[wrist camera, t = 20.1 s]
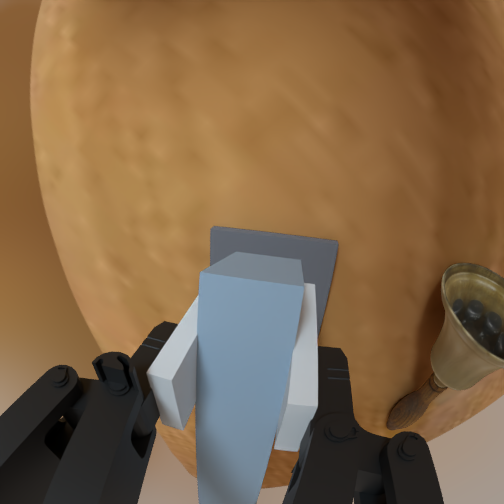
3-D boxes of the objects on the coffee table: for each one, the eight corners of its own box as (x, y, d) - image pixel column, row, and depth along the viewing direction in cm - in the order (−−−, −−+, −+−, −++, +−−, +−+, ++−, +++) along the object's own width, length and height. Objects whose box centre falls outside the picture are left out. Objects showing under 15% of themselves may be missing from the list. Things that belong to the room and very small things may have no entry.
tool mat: (213, 226, 16) (210, 229, 15) (337, 240, 15) (338, 244, 14) (216, 411, 23) (215, 416, 22) (290, 423, 22) (289, 428, 21)
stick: (236, 251, 13) (200, 272, 8) (300, 259, 12) (304, 286, 7) (217, 491, 16) (201, 535, 11) (253, 498, 15) (242, 543, 10)
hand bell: (546, 384, 5) (405, 475, 14) (532, 293, 10) (433, 407, 20) (433, 324, 9) (332, 440, 18) (447, 245, 15) (371, 376, 24)
